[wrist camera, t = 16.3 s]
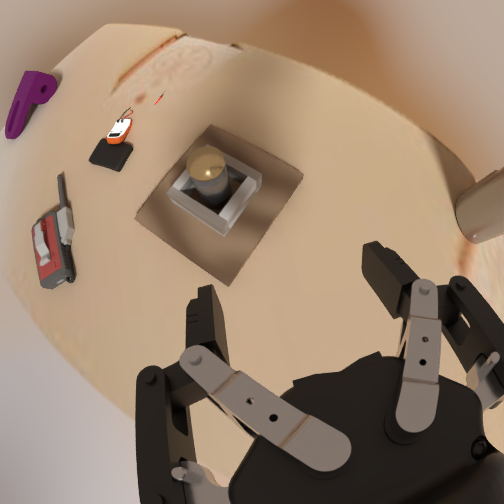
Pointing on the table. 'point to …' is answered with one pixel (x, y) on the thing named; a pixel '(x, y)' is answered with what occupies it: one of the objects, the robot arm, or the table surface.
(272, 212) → the dock board
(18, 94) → the mounting bracket
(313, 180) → the table surface
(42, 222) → the walkie-talkie
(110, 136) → the multimeter
